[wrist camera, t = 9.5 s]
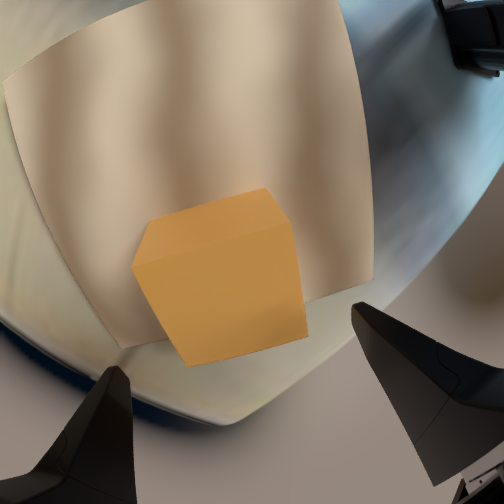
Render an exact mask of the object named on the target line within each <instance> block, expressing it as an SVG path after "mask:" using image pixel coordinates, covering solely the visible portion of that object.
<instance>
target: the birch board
mask: <svg viewBox="0 0 504 504" xmlns="http://www.w3.org/2000/svg"><path fill="white" fill-rule="evenodd" d="M3 87H4V92H5V98H6V103H7V108H8V112H9V117H10V121H11V125H12V129H13V132H14V136H15V140H16V143H17V147H18V150H19V153H20V156H21V159H22V163H23V166H24V168H25V171H26V174H27V177H28V180H29V182H30V185H31V188H32V190H33V193H34V195H35V198H36V200H37V203H38V205H39V207H40V210H41V212H42V214H43V217H44V219H45V221H46V223H47V226H48V228H49V230H50V232H51V234H52V236H53V238H54V240H55V242H56V244H57V246H58V248H59V250H60V252H61V254H62V256H63V258H64V260H65V261H66V263H67V265H68V267H69V269H70V271H71V272H72V274H73V276H74V278H75V279H76V281H77V283H78V284H79V286H80V288H81V289H82V291H83V293H84V294H85V296H86V298H87V299H88V301H89V302H90V304H91V306H92V307H93V309H94V310H95V312H96V313H97V315H98V316H99V318H100V319H101V321H102V322H103V324H104V325H105V327H106V328H107V329H108V331H109V332H110V334H111V335H112V336H113V338H114V339H115V341H116V342H117V343H118V345H119V346H120V347H121V349H122V348H127V347H132V346H138V345H142V344H147V343H152V342H157V341H162V340H166V339H169V337H168V335H167V334H166V332H165V330H164V329H163V327H162V325H161V323H160V322H159V320H158V318H157V316H156V315H155V313H154V311H153V309H152V307H151V306H150V304H149V302H148V300H147V298H146V296H145V295H144V293H143V291H142V289H141V287H140V285H139V283H138V281H137V279H136V277H135V275H134V273H133V271H132V269H131V265H132V263H133V260H134V258H135V255H136V252H137V250H138V248H139V245H140V243H141V240H142V238H143V235H144V233H145V231H146V228H147V226H148V224H149V222H150V220H153V219H156V218H160V217H163V216H166V215H169V214H172V213H175V212H179V211H182V210H185V209H189V208H192V207H195V206H199V205H202V204H206V203H209V202H212V201H216V200H220V199H223V198H227V197H230V196H234V195H238V194H241V193H245V192H249V191H253V190H257V189H260V188H264V187H265V188H266V189H267V190H268V192H269V193H270V194H271V196H272V197H273V198H274V200H275V201H276V202H277V204H278V205H279V206H280V208H281V209H282V211H283V212H284V213H285V215H286V216H287V218H288V219H289V220H290V222H291V226H292V231H293V237H294V243H295V249H296V255H297V261H298V268H299V274H300V281H301V287H302V294H303V301H304V303H305V302H309V301H312V300H315V299H318V298H321V297H324V296H327V295H330V294H334V293H337V292H340V291H343V290H345V289H348V288H351V287H354V286H357V285H360V284H363V283H366V282H368V281H371V280H373V273H374V217H373V194H372V179H371V166H370V156H369V146H368V138H367V130H366V123H365V116H364V109H363V103H362V97H361V91H360V86H359V81H358V76H357V71H356V66H355V62H354V57H353V53H352V49H351V45H350V41H349V37H348V33H347V29H346V26H345V22H344V19H343V15H342V12H341V9H340V5H339V2H338V0H148V1H145V2H143V3H140V4H137V5H134V6H132V7H129V8H127V9H124V10H122V11H119V12H117V13H114V14H112V15H110V16H107V17H105V18H103V19H101V20H99V21H97V22H95V23H93V24H91V25H89V26H87V27H85V28H83V29H81V30H79V31H77V32H75V33H73V34H71V35H70V36H68V37H66V38H64V39H63V40H61V41H59V42H58V43H56V44H54V45H53V46H51V47H50V48H48V49H46V50H45V51H43V52H42V53H40V54H39V55H37V56H36V57H34V58H33V59H32V60H30V61H29V62H27V63H26V64H25V65H23V66H22V67H20V68H19V69H18V70H17V71H15V72H14V73H13V74H11V75H10V76H9V77H8V78H6V79H5V80H4V81H3Z"/></svg>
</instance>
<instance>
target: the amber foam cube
mask: <svg viewBox="0 0 504 504" xmlns="http://www.w3.org/2000/svg"><path fill="white" fill-rule="evenodd" d="M131 269H132V271H133V273H134V275H135V277H136V279H137V281H138V283H139V285H140V287H141V289H142V291H143V293H144V295H145V296H146V298H147V300H148V302H149V304H150V306H151V307H152V309H153V311H154V313H155V315H156V316H157V318H158V320H159V322H160V323H161V325H162V327H163V329H164V330H165V332H166V334H167V335H168V337H169V339H170V340H171V342H172V344H173V345H174V347H175V348H176V350H177V352H178V353H179V355H180V356H181V358H182V360H183V361H184V363H185V364H186V366H187V367H193V366H198V365H202V364H207V363H211V362H216V361H220V360H225V359H229V358H233V357H237V356H241V355H245V354H249V353H253V352H257V351H260V350H264V349H268V348H271V347H275V346H278V345H282V344H285V343H289V342H292V341H295V340H299V339H302V338H305V337H308V330H307V322H306V315H305V308H304V301H303V294H302V287H301V281H300V274H299V268H298V261H297V255H296V249H295V243H294V237H293V231H292V226H291V222H290V220H289V219H288V218H287V216H286V215H285V213H284V212H283V211H282V209H281V208H280V206H279V205H278V204H277V202H276V201H275V200H274V198H273V197H272V196H271V194H270V193H269V192H268V190H267V189H266V188H265V187H264V188H260V189H257V190H253V191H249V192H245V193H241V194H238V195H234V196H230V197H227V198H223V199H220V200H216V201H212V202H209V203H206V204H202V205H199V206H195V207H192V208H189V209H185V210H182V211H179V212H175V213H172V214H169V215H166V216H163V217H160V218H156V219H153V220H150V222H149V224H148V226H147V228H146V231H145V233H144V235H143V238H142V240H141V243H140V245H139V248H138V250H137V252H136V255H135V258H134V260H133V263H132V265H131Z"/></svg>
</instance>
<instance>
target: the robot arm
mask: <svg viewBox="0 0 504 504" xmlns="http://www.w3.org/2000/svg"><path fill="white" fill-rule="evenodd" d="M438 1H439V4H440V8H441V11H442V14H443V17H444V21H445V24H446V28H447V32H448V36H449V40H450V44H451V49H452V54H453V59H454V64H455V66H456V68H457V69H459V70H465V71H470V72H475V73H480V74H485V75H489V76H493V77H499V75H500V72H499V71H504V0H483V1H474V2H467V1H464V0H438ZM351 321H352V326H353V328H354V330H355V333H356V335H357V337H358V340H359V342H360V344H361V346H362V349H363V351H364V354H365V356H366V358H367V360H368V362H369V364H370V366H371V368H372V369H373V371H374V373H375V375H376V376H377V378H378V380H379V382H380V383H381V385H382V387H383V389H384V391H385V393H386V394H387V396H388V398H389V400H390V401H391V403H392V405H393V407H394V409H395V411H396V413H397V415H398V416H399V418H400V420H401V422H402V424H403V426H404V428H405V430H406V432H407V434H408V436H409V437H410V439H411V441H412V443H413V445H414V447H415V449H416V451H417V453H418V455H419V457H420V459H421V462H422V463H423V465H424V468H425V470H426V472H427V474H428V476H429V478H430V480H431V482H432V484H433V486H434V487H435V486H437V485H439V484H440V483H442V482H444V481H446V480H447V479H449V478H451V477H453V476H454V475H456V474H457V473H459V472H461V474H462V476H463V479H461V481H460V484H459V486H458V489H457V492H456V494H455V497H454V499H453V502H452V504H504V369H501V368H496V367H493V366H490V365H488V364H485V363H483V362H480V361H478V360H475V359H473V358H470V357H468V356H466V355H463V354H461V353H459V352H457V351H454V350H453V349H451V348H449V347H447V346H445V345H443V344H441V343H439V342H436V341H435V340H434V339H432V338H430V337H428V336H426V335H424V334H422V333H420V332H419V331H417V330H415V329H413V328H411V327H409V326H408V325H406V324H404V323H402V322H400V321H398V320H396V319H394V318H393V317H391V316H389V315H387V314H385V313H383V312H382V311H380V310H378V309H376V308H374V307H372V306H370V305H368V304H367V303H365V302H358V303H356V304H353V305H352V308H351ZM133 456H134V454H133V413H132V402H131V390H130V381H129V378H128V377H127V376H126V375H125V373H124V372H123V371H122V370H121V369H120V368H119V367H118V366H111V367H108V368H107V369H106V371H105V372H104V373H103V375H102V376H101V377H100V379H99V380H98V381H97V383H96V384H95V385H94V387H93V388H92V390H91V391H90V392H89V394H88V395H87V396H86V398H85V399H84V401H83V402H82V403H81V405H80V406H79V408H78V409H77V410H76V412H75V413H74V415H73V416H72V418H71V419H70V420H69V422H68V423H67V425H66V426H65V428H64V430H63V431H62V432H61V433H60V435H59V436H58V438H57V439H56V441H55V442H54V443H53V445H52V446H51V447H50V449H49V450H48V451H47V453H46V454H45V455H44V456H43V457H42V459H41V460H40V461H39V462H38V464H37V465H36V466H35V467H34V468H33V470H31V471H30V472H29V473H27V474H24V475H21V476H17V477H13V478H9V479H5V480H0V504H137V497H136V486H135V472H134V457H133Z"/></svg>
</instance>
